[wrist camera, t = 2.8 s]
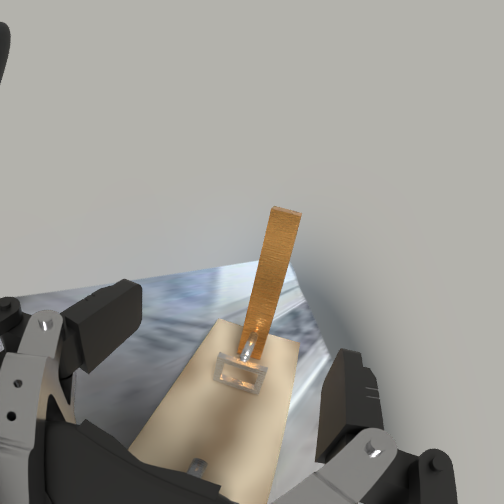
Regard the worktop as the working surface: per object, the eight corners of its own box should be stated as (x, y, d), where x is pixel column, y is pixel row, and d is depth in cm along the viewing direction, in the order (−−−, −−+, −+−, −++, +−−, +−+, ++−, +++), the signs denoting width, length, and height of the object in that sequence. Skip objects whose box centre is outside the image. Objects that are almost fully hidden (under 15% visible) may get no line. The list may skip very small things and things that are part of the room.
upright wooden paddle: (212, 379, 22) (245, 215, 17) (242, 323, 32) (271, 198, 27) (258, 394, 21) (310, 232, 17) (276, 333, 31) (313, 209, 26)
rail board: (93, 514, 8) (85, 508, 8) (216, 331, 33) (218, 318, 32) (238, 572, 7) (244, 572, 6) (294, 355, 31) (299, 342, 30)
